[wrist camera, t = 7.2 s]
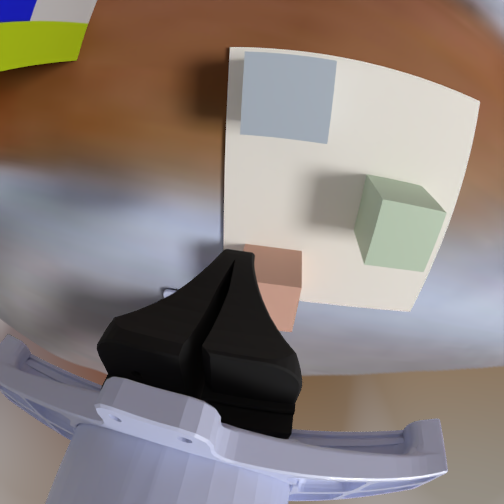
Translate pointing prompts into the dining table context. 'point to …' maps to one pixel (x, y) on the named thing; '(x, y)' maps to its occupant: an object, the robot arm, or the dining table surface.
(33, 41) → the puzzle toy
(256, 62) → the slate block
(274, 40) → the dining table surface
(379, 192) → the sage block
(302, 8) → the dining table surface
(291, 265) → the terracotta block
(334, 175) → the mat
